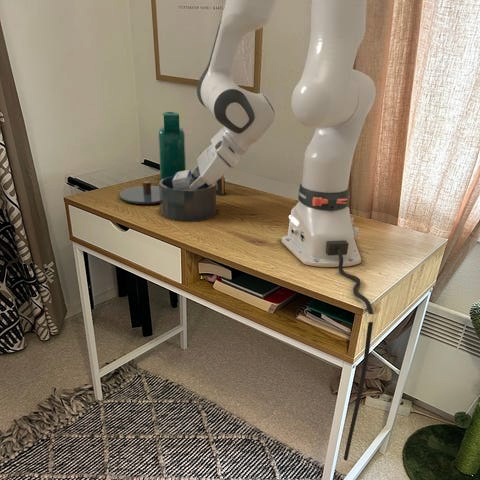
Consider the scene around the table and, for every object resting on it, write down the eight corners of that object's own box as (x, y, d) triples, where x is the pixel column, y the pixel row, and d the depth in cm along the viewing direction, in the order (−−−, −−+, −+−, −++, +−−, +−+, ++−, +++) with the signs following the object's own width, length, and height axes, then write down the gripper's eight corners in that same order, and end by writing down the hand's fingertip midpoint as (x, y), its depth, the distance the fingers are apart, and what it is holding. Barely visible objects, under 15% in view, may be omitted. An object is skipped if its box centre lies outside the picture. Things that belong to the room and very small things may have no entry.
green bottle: (160, 177, 170) (156, 109, 158) (184, 177, 171) (182, 109, 160) (161, 185, 161) (157, 114, 150) (186, 184, 163) (185, 114, 151)
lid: (175, 205, 144) (174, 190, 142) (117, 206, 142) (116, 190, 139) (174, 189, 158) (173, 174, 156) (122, 189, 156) (120, 174, 154)
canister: (218, 221, 134) (218, 190, 130) (160, 221, 132) (158, 190, 128) (213, 202, 147) (213, 174, 143) (161, 203, 145) (159, 174, 141)
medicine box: (194, 207, 135) (187, 177, 131) (178, 210, 135) (171, 179, 131) (196, 199, 142) (190, 169, 137) (181, 201, 142) (175, 171, 138)
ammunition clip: (225, 194, 155) (225, 155, 149) (221, 195, 154) (221, 156, 148) (200, 187, 161) (200, 149, 155) (196, 188, 160) (196, 150, 153)
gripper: (214, 132, 139) (181, 166, 143) (221, 147, 122) (183, 186, 126) (229, 148, 142) (196, 181, 146) (238, 165, 125) (200, 203, 129)
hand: (190, 184), depth 136 cm, fingers closed on medicine box, 8 cm apart
